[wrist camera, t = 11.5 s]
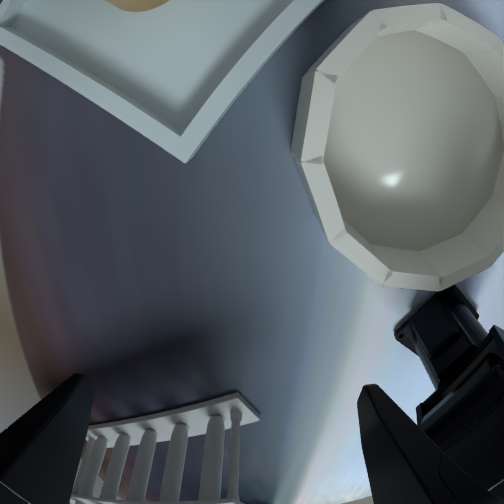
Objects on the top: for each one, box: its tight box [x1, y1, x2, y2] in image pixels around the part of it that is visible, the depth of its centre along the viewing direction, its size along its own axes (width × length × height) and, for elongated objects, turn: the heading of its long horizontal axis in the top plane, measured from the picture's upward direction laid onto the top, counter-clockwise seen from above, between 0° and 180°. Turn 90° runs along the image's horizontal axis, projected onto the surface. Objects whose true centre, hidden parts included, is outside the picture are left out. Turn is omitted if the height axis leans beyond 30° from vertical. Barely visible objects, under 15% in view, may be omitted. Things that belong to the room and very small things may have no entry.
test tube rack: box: [70, 392, 260, 504], centre depth 24 cm, size 25×4×13 cm, turn 119°
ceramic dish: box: [291, 3, 504, 291], centre depth 15 cm, size 16×16×4 cm
